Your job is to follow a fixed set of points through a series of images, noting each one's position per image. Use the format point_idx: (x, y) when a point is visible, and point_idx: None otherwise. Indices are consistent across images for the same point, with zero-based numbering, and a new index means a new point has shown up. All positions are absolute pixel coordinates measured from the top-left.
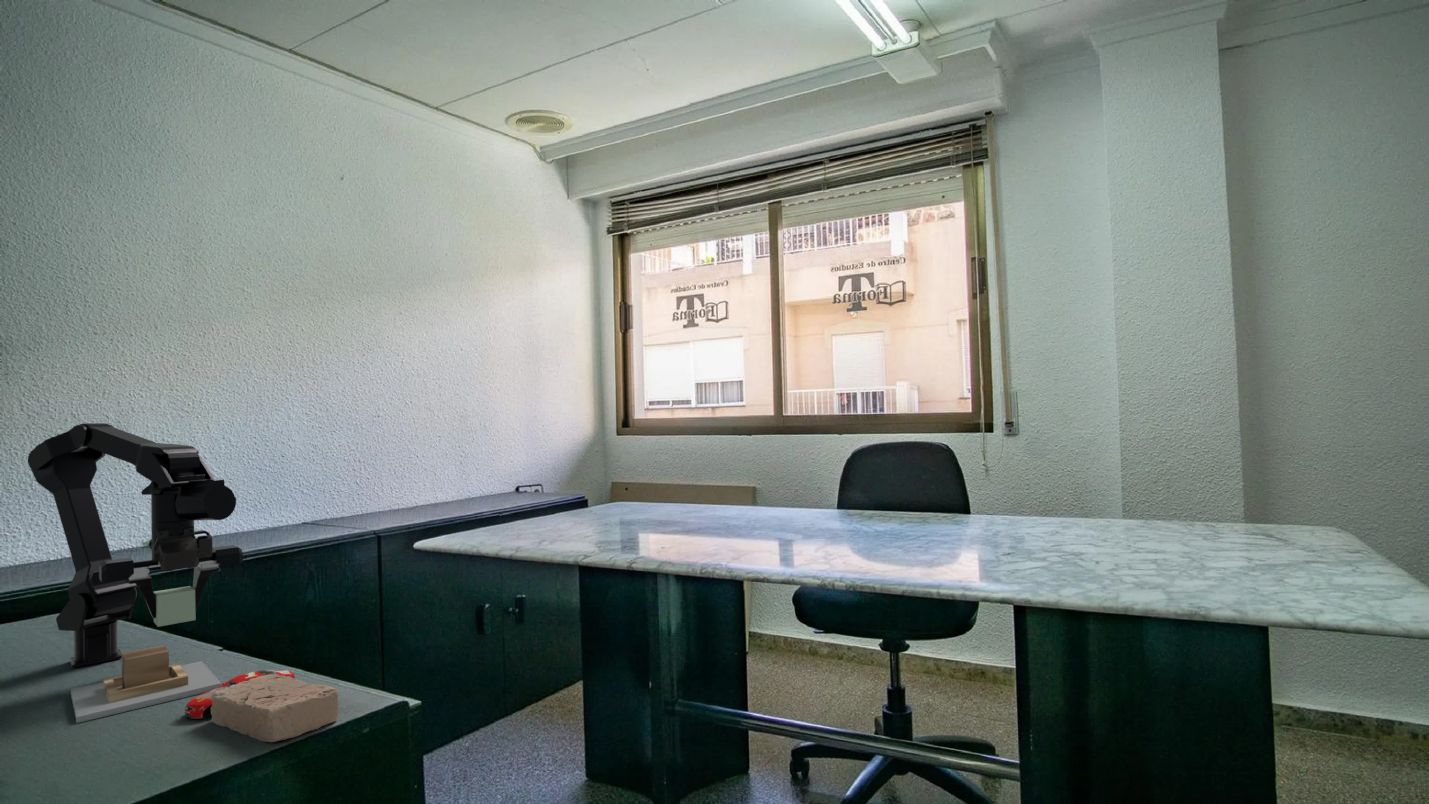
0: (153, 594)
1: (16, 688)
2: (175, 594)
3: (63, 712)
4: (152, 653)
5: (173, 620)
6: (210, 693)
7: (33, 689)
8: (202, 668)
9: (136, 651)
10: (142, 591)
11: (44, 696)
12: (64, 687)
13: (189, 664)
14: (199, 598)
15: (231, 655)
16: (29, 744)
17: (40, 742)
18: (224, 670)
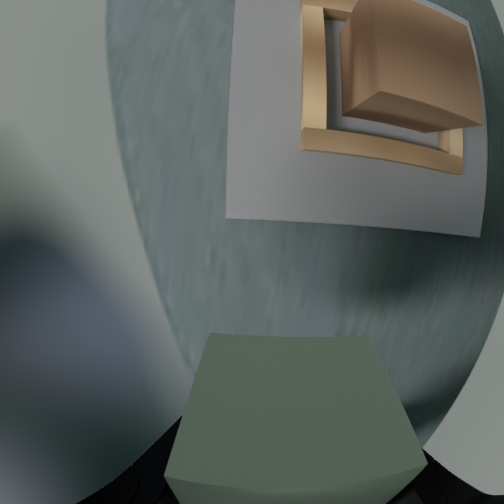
0: (416, 487)
1: (474, 360)
2: (314, 475)
3: (487, 109)
4: (411, 11)
5: (308, 347)
6: None
7: (474, 335)
8: (241, 120)
9: (454, 94)
10: (472, 487)
11: (488, 268)
12: (459, 306)
13: (260, 209)
14: (163, 439)
15: (150, 263)
16: (487, 11)
17: (479, 3)
18: (192, 106)
